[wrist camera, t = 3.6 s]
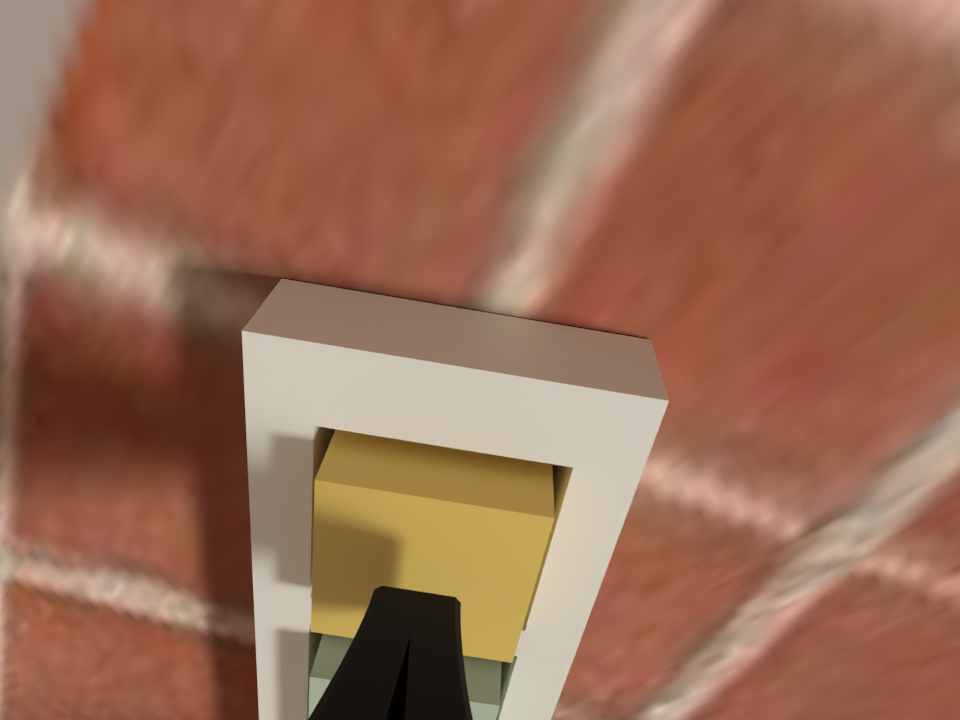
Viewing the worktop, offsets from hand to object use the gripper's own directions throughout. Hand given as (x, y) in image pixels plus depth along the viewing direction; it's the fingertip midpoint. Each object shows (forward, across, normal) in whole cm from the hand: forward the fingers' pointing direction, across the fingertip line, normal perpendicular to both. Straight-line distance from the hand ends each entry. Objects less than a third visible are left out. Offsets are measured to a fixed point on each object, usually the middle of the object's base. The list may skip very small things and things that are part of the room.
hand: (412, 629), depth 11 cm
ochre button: (+3, 0, 0) cm, 3 cm away
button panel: (+4, 0, +6) cm, 7 cm away
